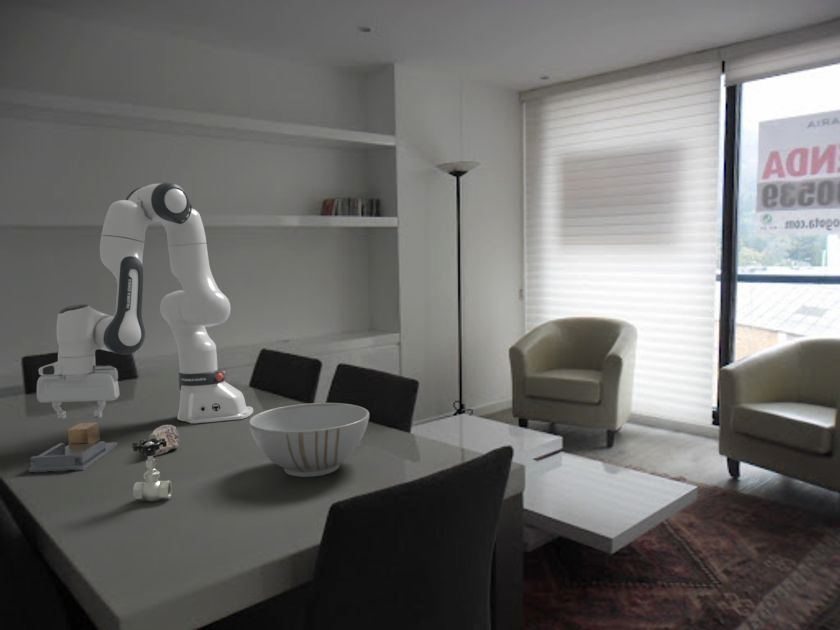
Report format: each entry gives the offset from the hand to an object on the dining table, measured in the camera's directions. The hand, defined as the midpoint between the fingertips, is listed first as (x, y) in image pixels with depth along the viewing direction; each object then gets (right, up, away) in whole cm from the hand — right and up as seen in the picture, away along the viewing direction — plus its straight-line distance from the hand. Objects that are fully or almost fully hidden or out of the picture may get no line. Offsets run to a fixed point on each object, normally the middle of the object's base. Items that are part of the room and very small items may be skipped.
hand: (80, 417), depth 178 cm
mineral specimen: (+25, -7, -8) cm, 27 cm away
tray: (+5, -8, -13) cm, 16 cm away
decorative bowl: (+66, -8, -26) cm, 72 cm away
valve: (+37, -10, -44) cm, 58 cm away
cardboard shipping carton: (+1, -7, +1) cm, 7 cm away
